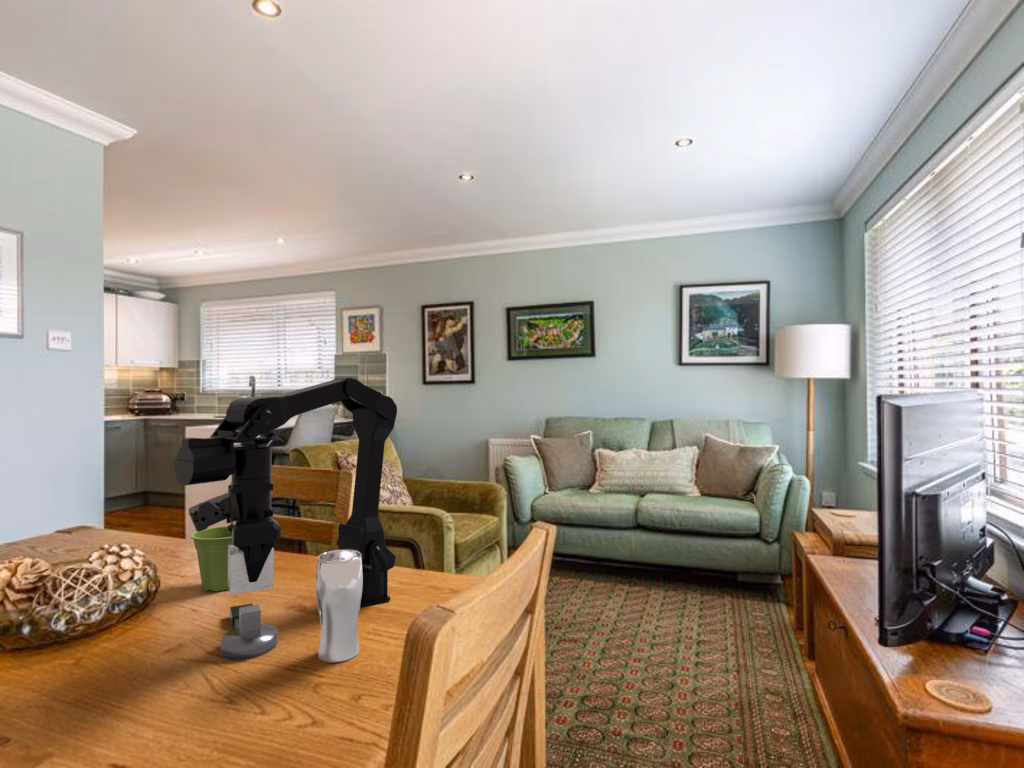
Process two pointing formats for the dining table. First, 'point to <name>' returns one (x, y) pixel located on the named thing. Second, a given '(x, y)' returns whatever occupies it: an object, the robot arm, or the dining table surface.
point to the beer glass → (339, 603)
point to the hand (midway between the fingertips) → (250, 575)
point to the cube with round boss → (239, 573)
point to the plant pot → (213, 556)
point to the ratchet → (247, 634)
